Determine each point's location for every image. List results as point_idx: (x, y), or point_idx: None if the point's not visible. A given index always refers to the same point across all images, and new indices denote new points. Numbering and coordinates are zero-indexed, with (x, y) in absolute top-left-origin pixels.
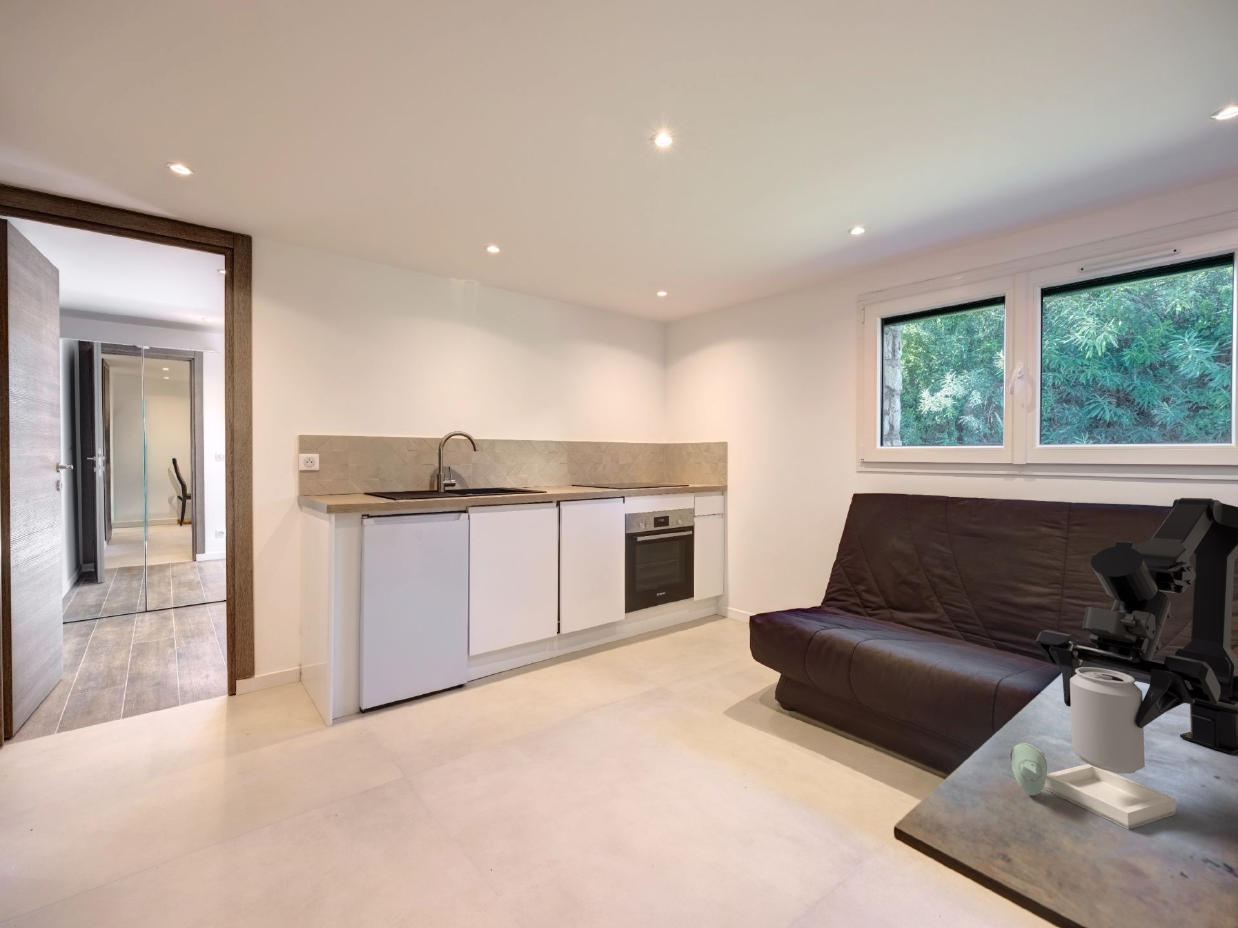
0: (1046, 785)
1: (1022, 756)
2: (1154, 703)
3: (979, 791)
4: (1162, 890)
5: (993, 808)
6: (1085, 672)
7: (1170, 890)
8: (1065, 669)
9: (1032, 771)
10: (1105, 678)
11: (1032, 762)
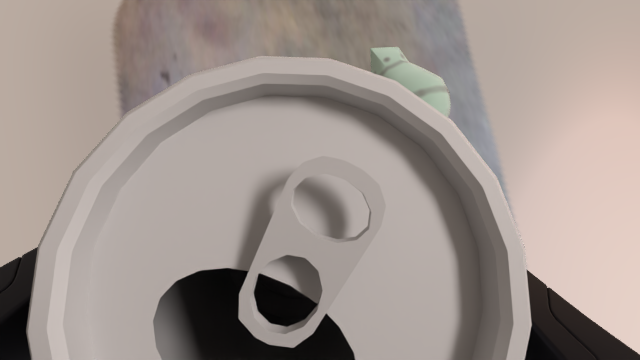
0: None
1: (415, 67)
2: (25, 256)
3: (437, 67)
4: (175, 10)
5: (396, 32)
6: (455, 310)
7: (168, 19)
8: (607, 350)
9: (378, 48)
10: (281, 264)
11: (391, 64)
